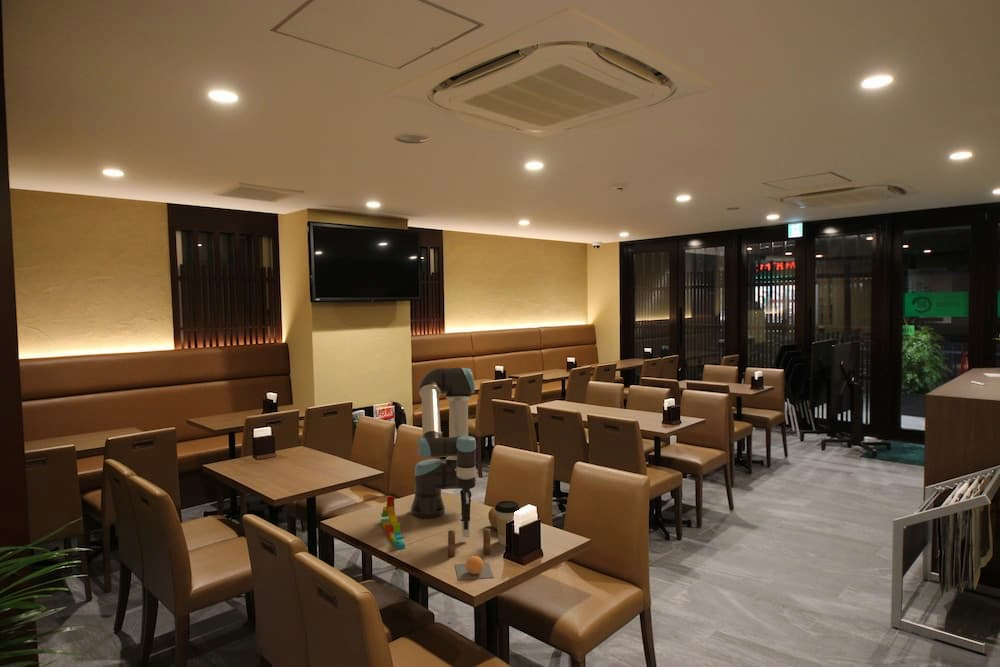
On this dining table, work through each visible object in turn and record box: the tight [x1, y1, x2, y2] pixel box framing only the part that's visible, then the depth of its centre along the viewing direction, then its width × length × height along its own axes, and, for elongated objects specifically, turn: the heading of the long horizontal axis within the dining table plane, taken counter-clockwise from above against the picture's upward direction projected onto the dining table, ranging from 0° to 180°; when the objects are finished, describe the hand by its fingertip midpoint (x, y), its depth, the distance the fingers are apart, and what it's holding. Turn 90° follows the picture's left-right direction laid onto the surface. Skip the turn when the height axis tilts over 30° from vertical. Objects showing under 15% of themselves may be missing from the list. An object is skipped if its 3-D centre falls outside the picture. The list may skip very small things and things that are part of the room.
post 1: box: [447, 529, 456, 558], centre depth 215 cm, size 3×3×9 cm
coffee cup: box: [494, 500, 521, 546], centre depth 229 cm, size 10×10×15 cm
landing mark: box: [454, 562, 495, 581], centre depth 202 cm, size 12×12×1 cm
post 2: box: [482, 528, 491, 556], centre depth 217 cm, size 3×3×9 cm
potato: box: [487, 506, 497, 530], centre depth 242 cm, size 10×14×8 cm
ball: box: [465, 555, 484, 575], centre depth 200 cm, size 6×6×6 cm
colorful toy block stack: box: [380, 496, 406, 550], centre depth 235 cm, size 30×3×15 cm, turn 23°
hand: (465, 536), depth 229 cm, fingers closed
